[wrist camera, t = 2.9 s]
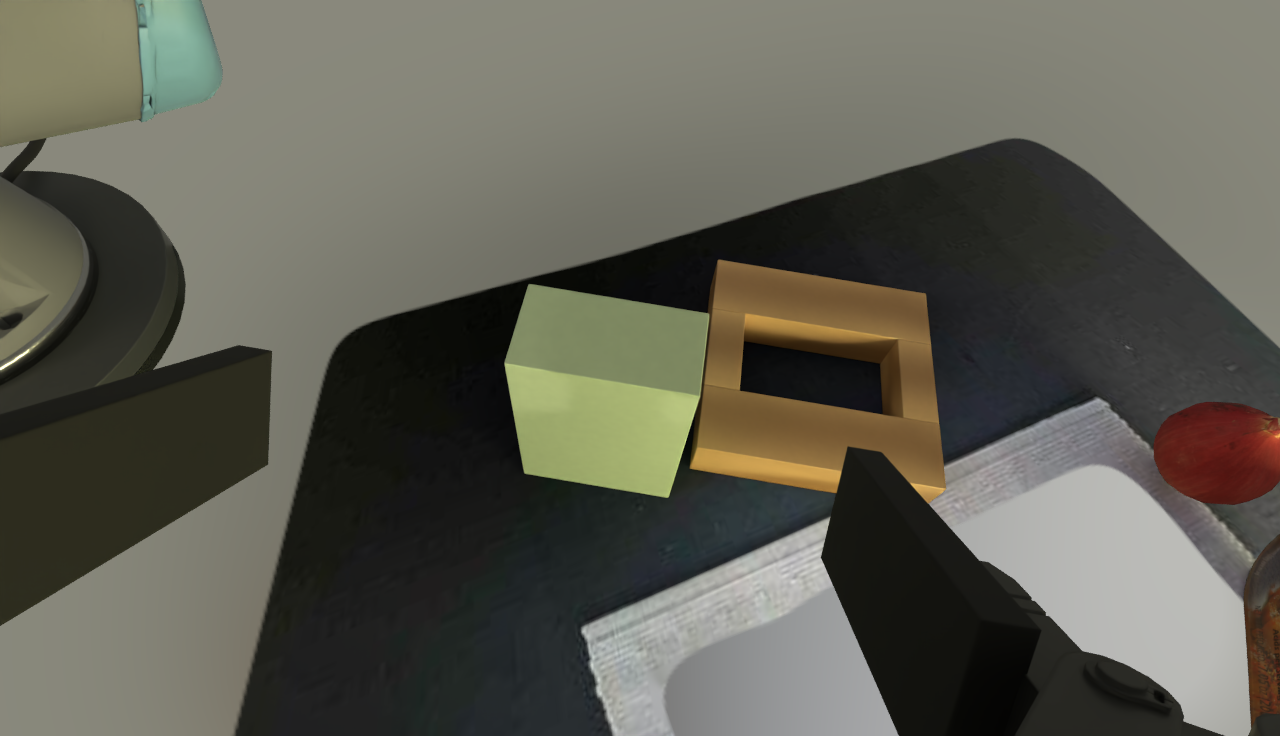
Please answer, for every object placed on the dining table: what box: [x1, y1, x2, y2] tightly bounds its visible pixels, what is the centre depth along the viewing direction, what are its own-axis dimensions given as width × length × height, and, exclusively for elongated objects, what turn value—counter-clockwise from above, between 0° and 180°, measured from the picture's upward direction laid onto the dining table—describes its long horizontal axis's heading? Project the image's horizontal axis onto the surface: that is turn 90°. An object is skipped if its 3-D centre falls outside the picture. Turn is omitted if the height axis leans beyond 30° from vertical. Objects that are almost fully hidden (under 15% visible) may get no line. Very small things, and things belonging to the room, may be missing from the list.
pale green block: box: [504, 284, 709, 498], centre depth 35 cm, size 4×8×12 cm, turn 82°
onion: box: [1154, 402, 1280, 505], centre depth 38 cm, size 6×6×8 cm
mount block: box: [690, 260, 946, 503], centre depth 42 cm, size 14×14×3 cm
